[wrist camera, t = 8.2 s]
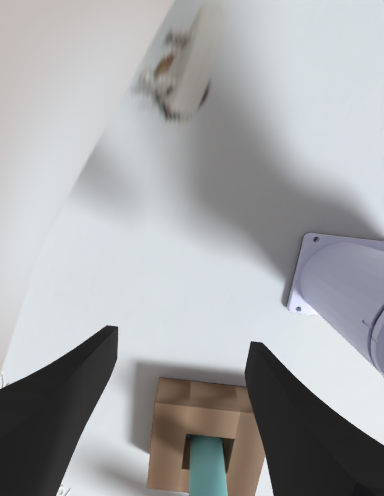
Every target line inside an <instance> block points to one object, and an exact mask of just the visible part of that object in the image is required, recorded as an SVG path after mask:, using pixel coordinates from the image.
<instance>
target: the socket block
mask: <svg viewBox="0 0 384 496" xmlns="http://www.w3.org/2000/svg"><path fill="white" fill-rule="evenodd" d="M186 434H194V435H203V436H213V437H222V438H225V439H224V443H222V446H223V456H224V465H225V475H226V484H227V493H228V496H255V492H256V489H257V485H258V481H259V477H260V473H261V469H262V466H263V462H264V458H265V451H264V447H263V444H262V440H261V437H260V433H259V430H258V426H257V423H256V420H255V416H254V413H253V409H252V406H251V402H250V399H249V395H248V391H247V387H241V386H232V385H223V384H214V383H205V382H196V381H187V380H178V379H168V378H160V379H159V384H158V388H157V393H156V398H155V404H154V415H153V426H152V438H151V449H150V460H149V471H148V482H147V488H149V489H158V490H168V491H177V492H187V493H189V470H190V439H186Z"/></svg>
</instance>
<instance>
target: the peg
mask: <svg viewBox="0 0 384 496" xmlns="http://www.w3.org/2000/svg"><path fill="white" fill-rule="evenodd" d="M189 496H228V493H227V484H226V475H225V465H224V456H223V446H222V437H213V436H203V435H194V434H190V470H189Z"/></svg>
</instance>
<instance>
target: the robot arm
mask: <svg viewBox="0 0 384 496" xmlns="http://www.w3.org/2000/svg"><path fill="white" fill-rule="evenodd" d="M315 237H317V240H316V241H313V239H314V238H315ZM297 307H299V309H296V308H297ZM287 309H288V310H289V311H290V312H291V313H299V314H308V315H317V316H321V317H322V318H324V319H325V320H326V321H327V322H328V323H329V324H330V325H331V326H332V327H333V328H334V329H335V330H336V331H337V332H338V333H339V334H340V335H341V336H342V337H343V338H344V339H346V340H347V341H348V342H349V343H350V344H351V345H352V346H353V347H354V348H355V349H356V350H357V351H358V352H359V353H360V354H361V355H362V356H363V357H364V358H365V359H366V360H367V361H369V362H370V363H371V364H372V365H373V366H374V367H375V368H376V369H377V370H378V371H379V372H380V373H381V374H382V375H383V377H384V241H377V240H368V239H360V238H351V237H342V236H334V235H325V234H316V233H307V234H306V235H305V236H304V238H303V242H302V246H301V250H300V254H299V259H298V263H297V267H296V271H295V275H294V279H293V284H292V288H291V292H290V296H289V300H288V304H287ZM117 348H118V327H117V326H108V325H107V326H105V327H104V328H103V329H101V330H100V331H98V332H97V333H96V334H94V335H93V336H92V337H90V338H89V339H87V340H86V341H85V342H83V343H82V344H80V345H79V346H77V347H76V348H75V349H73V350H71V351H70V352H68V353H67V354H65V355H64V356H62V357H61V358H59V359H57V360H56V361H54V362H52V363H51V364H49V365H47V366H46V367H44V368H42V369H40V370H38V371H36V372H35V373H33V374H31V375H29V376H27V377H25V378H23V379H21V380H18V381H16V382H14V383H12V384H10V385H8V386H6V387H4V388H2V389H0V496H56V494H57V492H58V489H59V487H60V484H61V482H62V479H63V477H64V474H65V472H66V469H67V467H68V465H69V462H70V460H71V457H72V455H73V453H74V450H75V448H76V445H77V443H78V441H79V438H80V436H81V434H82V432H83V430H84V428H85V425H86V423H87V421H88V420H89V418H90V416H91V414H92V412H93V410H94V408H95V406H96V404H97V402H98V400H99V398H100V396H101V394H102V393H103V391H104V389H105V387H106V385H107V383H108V381H109V379H110V376H111V374H112V371H113V369H114V366H115V363H116V361H117ZM245 379H246V385H247V391H248V395H249V399H250V402H251V406H252V409H253V413H254V416H255V420H256V423H257V426H258V430H259V433H260V437H261V440H262V444H263V447H264V451H265V455H266V460H267V465H268V469H269V474H270V479H271V484H272V489H273V494H274V496H384V445H382V444H381V443H379V442H378V441H376V440H375V439H373V438H371V437H370V436H369V435H367V434H366V433H364V432H363V431H361V430H360V429H358V428H357V427H355V426H354V425H353V424H351V423H350V422H349V421H347V420H346V419H345V418H343V417H342V416H340V415H339V414H338V413H337V412H335V411H334V410H333V409H331V408H330V407H329V406H328V405H326V404H325V403H324V402H323V401H322V400H320V399H319V398H318V397H317V396H316V395H314V394H313V393H312V392H311V391H310V390H309V389H308V388H307V387H306V386H305V385H303V384H302V383H301V382H300V381H299V380H298V379H297V378H296V377H295V376H294V375H293V374H292V373H291V372H290V371H289V370H288V369H287V368H286V367H285V366H284V365H283V364H282V363H281V362H280V361H279V360H278V359H277V358H276V357H275V355H274V354H273V353H272V352H271V351H270V350H269V349H268V348H267V347H266V346H265V345H264V344H263V343H261V342H252V341H251V343H250V348H249V353H248V358H247V363H246V368H245Z"/></svg>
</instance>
